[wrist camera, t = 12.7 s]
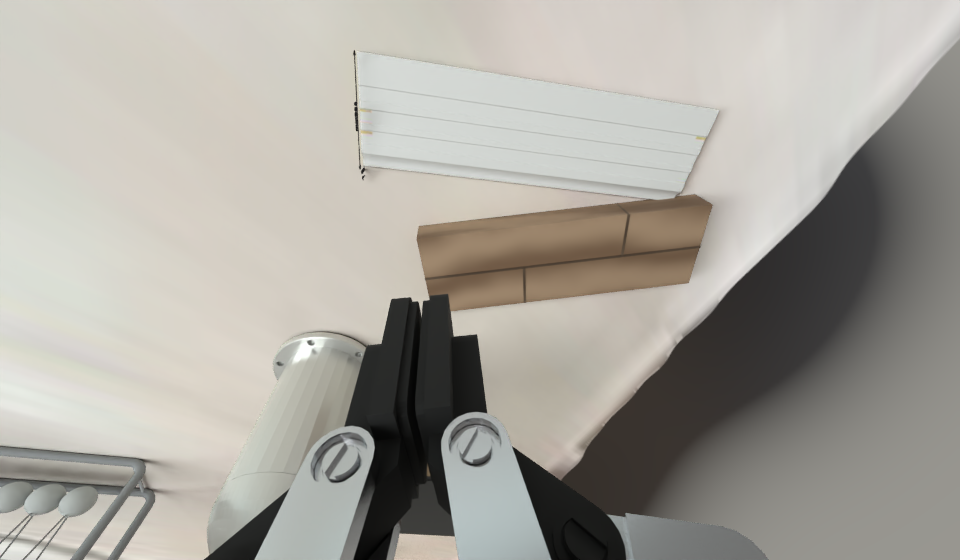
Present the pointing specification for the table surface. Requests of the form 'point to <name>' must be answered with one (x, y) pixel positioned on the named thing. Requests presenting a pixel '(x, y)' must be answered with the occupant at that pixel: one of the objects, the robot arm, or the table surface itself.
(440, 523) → the dark grey book
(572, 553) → the robot arm
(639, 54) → the table surface
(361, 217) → the table surface
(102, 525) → the newton's cradle
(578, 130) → the baseboard
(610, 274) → the plank row
